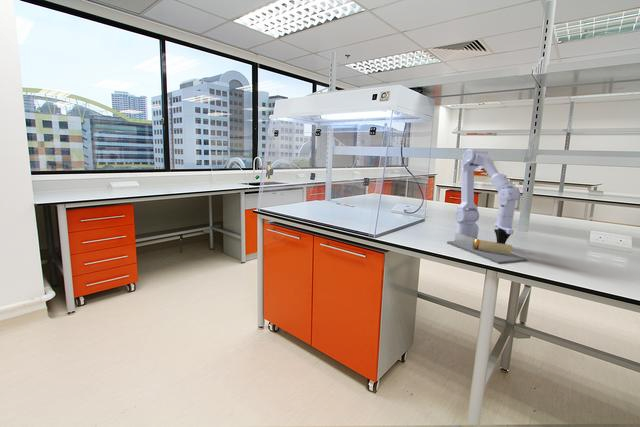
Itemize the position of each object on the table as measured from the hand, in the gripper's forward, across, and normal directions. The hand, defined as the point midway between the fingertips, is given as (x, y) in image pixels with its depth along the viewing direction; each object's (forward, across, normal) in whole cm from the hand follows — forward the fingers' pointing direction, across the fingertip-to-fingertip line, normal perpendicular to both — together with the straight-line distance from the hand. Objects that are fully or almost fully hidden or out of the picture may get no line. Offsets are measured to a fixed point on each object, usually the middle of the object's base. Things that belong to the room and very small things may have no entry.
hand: (500, 246), depth 137 cm
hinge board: (+3, 0, -6) cm, 7 cm away
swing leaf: (+2, +3, -4) cm, 6 cm away
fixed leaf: (+3, -5, -13) cm, 14 cm away
